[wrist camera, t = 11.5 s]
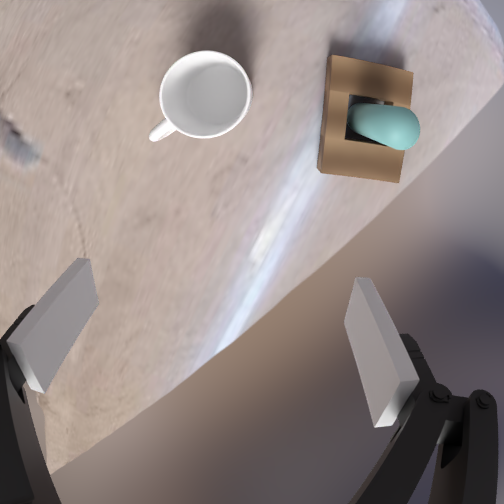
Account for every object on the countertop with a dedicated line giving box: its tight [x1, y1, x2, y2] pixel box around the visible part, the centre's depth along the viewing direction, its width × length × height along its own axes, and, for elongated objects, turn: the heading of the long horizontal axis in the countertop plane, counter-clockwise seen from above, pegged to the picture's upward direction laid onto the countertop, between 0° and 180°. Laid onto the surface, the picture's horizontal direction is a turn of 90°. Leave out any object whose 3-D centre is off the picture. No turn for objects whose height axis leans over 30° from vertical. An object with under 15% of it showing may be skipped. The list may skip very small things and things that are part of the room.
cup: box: [149, 50, 253, 142], centre depth 31 cm, size 8×12×10 cm
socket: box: [317, 55, 413, 183], centre depth 34 cm, size 14×10×3 cm
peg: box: [347, 103, 420, 150], centre depth 30 cm, size 4×4×12 cm
